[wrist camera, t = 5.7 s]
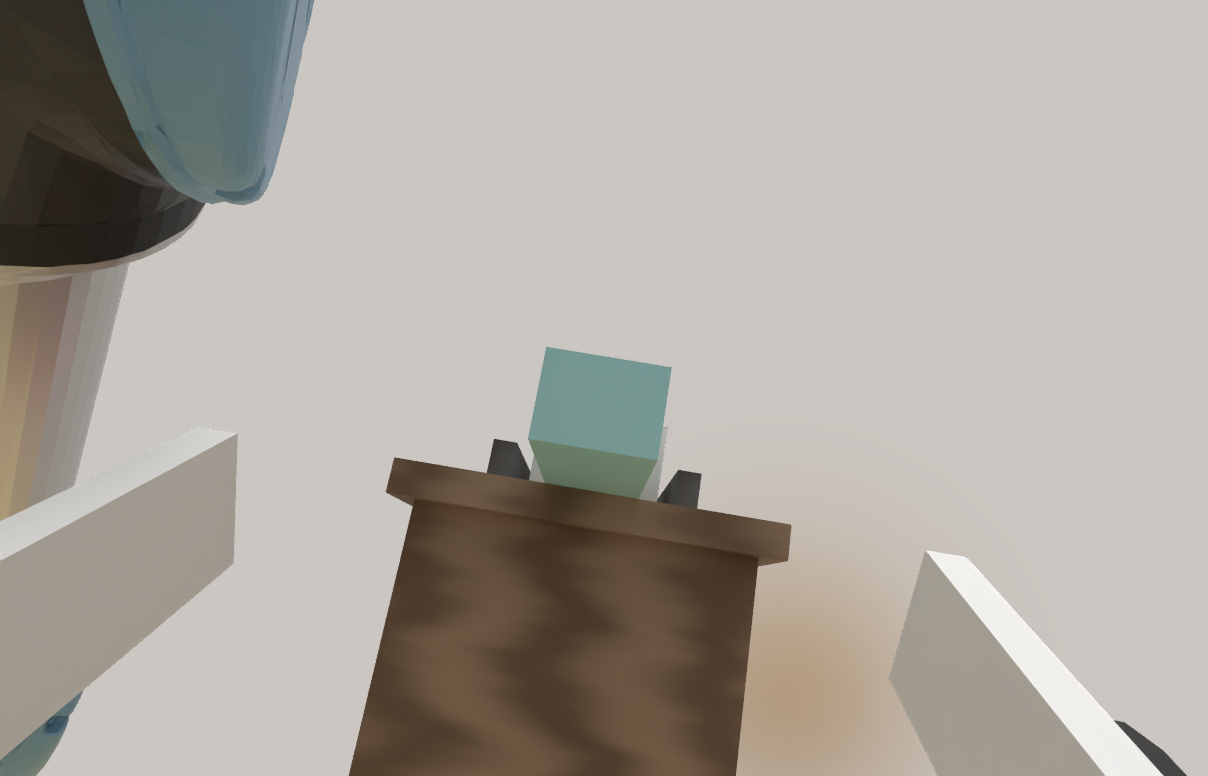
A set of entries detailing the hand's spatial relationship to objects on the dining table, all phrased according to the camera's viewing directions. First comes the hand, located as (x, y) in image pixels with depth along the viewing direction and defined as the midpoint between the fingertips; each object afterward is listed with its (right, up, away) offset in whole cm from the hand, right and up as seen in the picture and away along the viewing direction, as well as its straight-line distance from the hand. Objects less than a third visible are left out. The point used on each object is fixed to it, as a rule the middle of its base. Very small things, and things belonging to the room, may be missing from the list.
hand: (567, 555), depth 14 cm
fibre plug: (0, -2, +20) cm, 20 cm away
